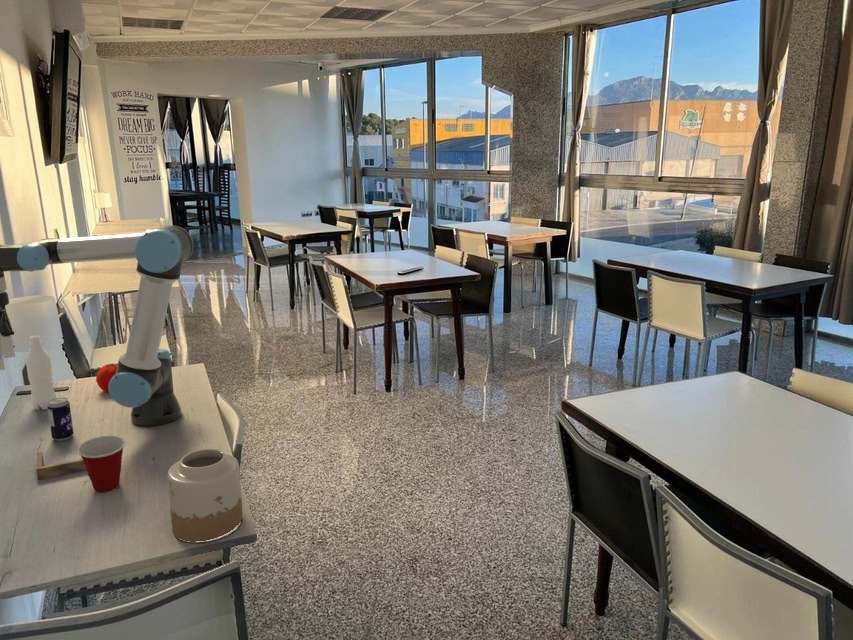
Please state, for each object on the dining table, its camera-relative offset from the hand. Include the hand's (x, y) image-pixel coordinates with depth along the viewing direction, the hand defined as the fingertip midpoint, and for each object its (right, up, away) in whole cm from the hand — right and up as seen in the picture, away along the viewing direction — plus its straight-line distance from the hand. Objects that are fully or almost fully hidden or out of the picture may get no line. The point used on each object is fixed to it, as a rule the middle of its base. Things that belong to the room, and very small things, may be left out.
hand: (4, 363), depth 178 cm
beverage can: (+14, -23, +6) cm, 28 cm away
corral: (+24, -27, -11) cm, 38 cm away
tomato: (+9, -13, +46) cm, 49 cm away
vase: (+74, -35, -38) cm, 90 cm away
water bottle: (-6, -17, +29) cm, 34 cm away
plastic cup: (+42, -30, -23) cm, 56 cm away
